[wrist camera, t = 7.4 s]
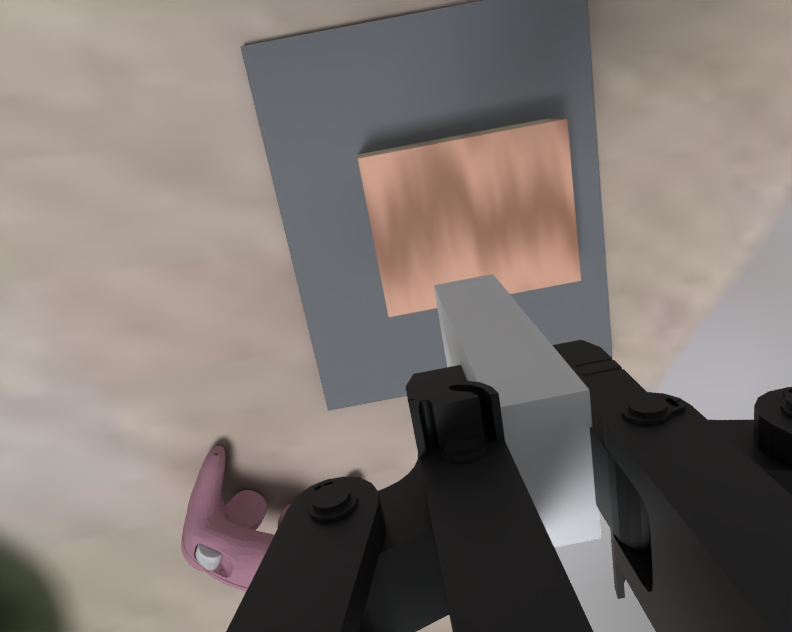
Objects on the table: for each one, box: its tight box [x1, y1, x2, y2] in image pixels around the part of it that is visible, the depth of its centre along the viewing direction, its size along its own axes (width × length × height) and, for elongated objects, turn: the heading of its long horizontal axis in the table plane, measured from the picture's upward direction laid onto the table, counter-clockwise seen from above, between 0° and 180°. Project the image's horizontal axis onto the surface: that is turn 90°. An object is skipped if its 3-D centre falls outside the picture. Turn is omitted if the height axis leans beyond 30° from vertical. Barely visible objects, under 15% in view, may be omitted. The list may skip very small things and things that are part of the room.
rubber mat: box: [241, 0, 612, 411], centre depth 33 cm, size 20×17×1 cm
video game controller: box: [181, 446, 291, 591], centre depth 36 cm, size 10×5×7 cm, turn 72°
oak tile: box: [358, 118, 581, 317], centre depth 32 cm, size 8×3×10 cm
